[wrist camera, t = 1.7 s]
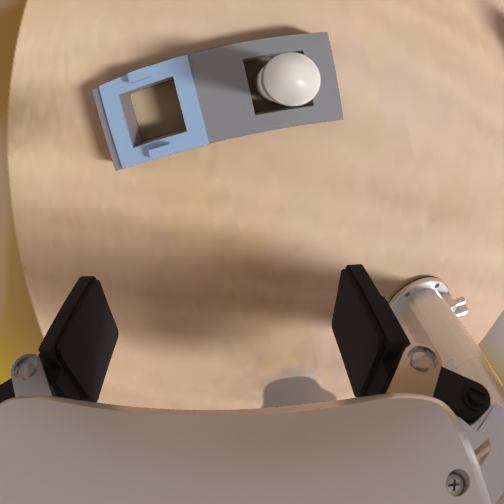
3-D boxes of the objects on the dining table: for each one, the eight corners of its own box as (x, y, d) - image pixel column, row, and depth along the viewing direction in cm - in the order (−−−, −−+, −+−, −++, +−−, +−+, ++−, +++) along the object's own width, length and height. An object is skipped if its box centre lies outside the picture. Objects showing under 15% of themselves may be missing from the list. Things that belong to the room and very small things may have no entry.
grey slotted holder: (319, 36, 24) (331, 29, 20) (334, 116, 29) (348, 121, 25) (104, 89, 26) (85, 90, 22) (125, 163, 30) (110, 174, 26)
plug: (291, 61, 26) (315, 48, 17) (298, 98, 28) (325, 102, 19) (251, 67, 26) (257, 56, 17) (259, 104, 28) (269, 110, 19)
